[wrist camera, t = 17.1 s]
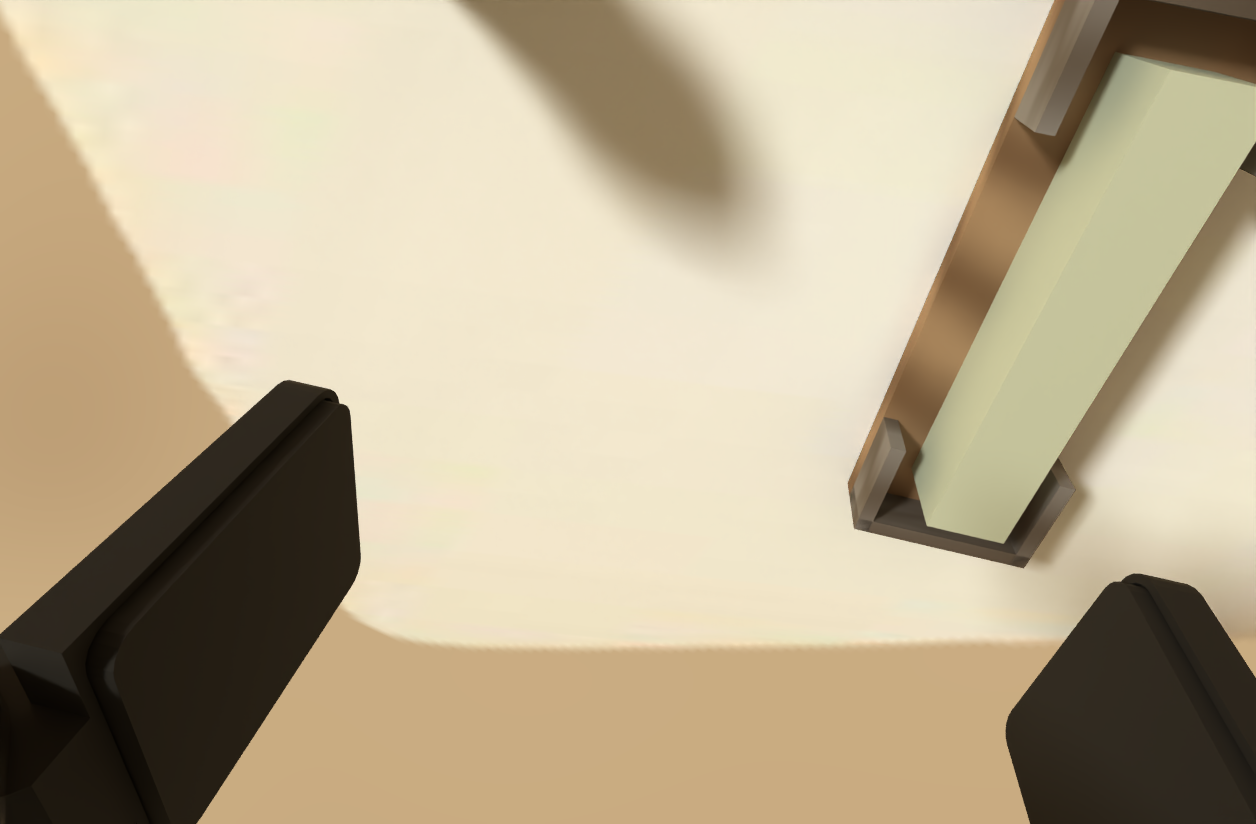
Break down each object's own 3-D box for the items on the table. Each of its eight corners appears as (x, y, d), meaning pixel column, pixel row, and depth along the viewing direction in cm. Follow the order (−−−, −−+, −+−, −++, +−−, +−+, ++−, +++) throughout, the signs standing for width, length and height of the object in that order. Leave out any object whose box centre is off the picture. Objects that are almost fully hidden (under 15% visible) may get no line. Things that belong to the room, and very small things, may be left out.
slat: (1114, 51, 30) (1170, 69, 26) (1214, 72, 30) (1286, 93, 25) (911, 468, 42) (926, 525, 38) (980, 484, 42) (1003, 543, 38)
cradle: (1071, -39, 29) (1111, -36, 26) (1314, 7, 29) (1388, 16, 25) (847, 483, 45) (854, 528, 41) (1004, 519, 44) (1023, 568, 41)
